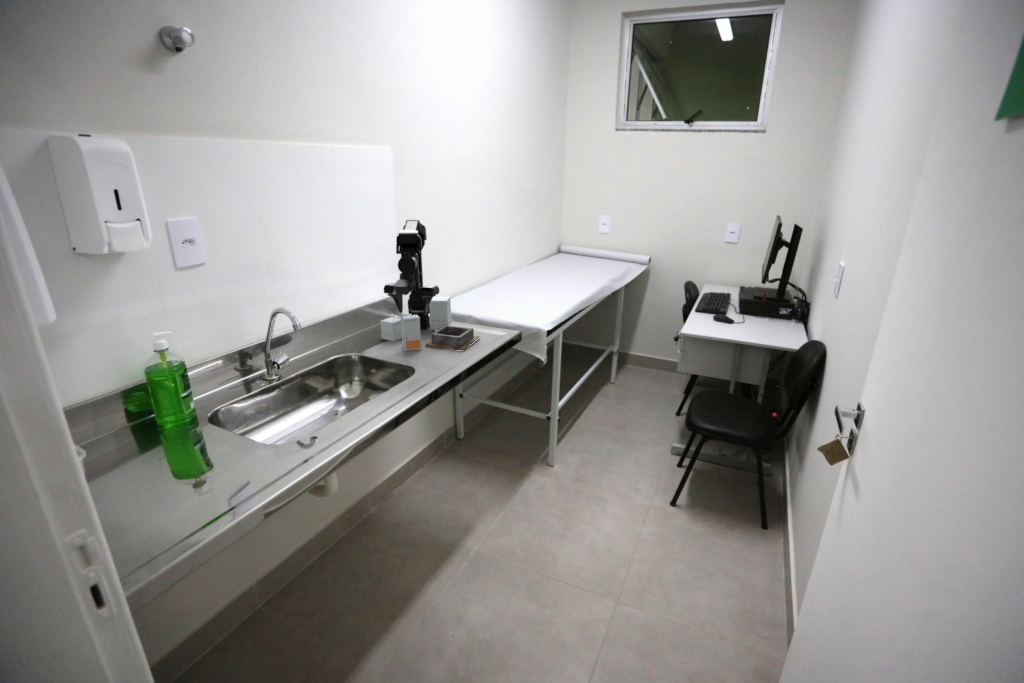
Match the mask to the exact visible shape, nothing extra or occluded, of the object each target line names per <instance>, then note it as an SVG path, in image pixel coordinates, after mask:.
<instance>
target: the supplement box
mask: <svg viewBox="0 0 1024 683" xmlns="http://www.w3.org/2000/svg"><path fill="white" fill-rule="evenodd" d="M451 303H452V302H451V296H434V297H433V298H432V300H431V302H430V304H429V310H430V314H429V316H430V326H429V327H430V331H431V330H439V329H440V328H442V327H444V326H445V325H448V326H450V325H451V323H452V309H451V308H452V304H451Z"/></svg>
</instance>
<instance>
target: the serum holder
mask: <svg viewBox="0 0 1024 683" xmlns="http://www.w3.org/2000/svg"><path fill="white" fill-rule="evenodd" d="M474 331H475V330H474V328H473V327H463V326H456V325H455V326H454V325H452V326H448V325H445V326H444V327H442V328H440V329H439V330H437V331H433V332H432V333H431V336H430V338H431V340H430V341H428V342H426V343H425V346H424V347H425V348H432V349H433V348H434V349H439V348H440V350H447V349H453V350H452V351H455V350H462V351H463V350H464V349H466V348H467V347H468V346H469V345H470V344H472V343H473V342H474V341H475V340H476V339H478V338H479V337H480V336H479V335H474ZM472 345H473V344H472ZM468 348H469V347H468ZM468 348H467V349H468ZM467 349H466V350H467ZM462 351H461V352H462ZM464 351H465V350H464ZM464 351H463V352H464Z"/></svg>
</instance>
